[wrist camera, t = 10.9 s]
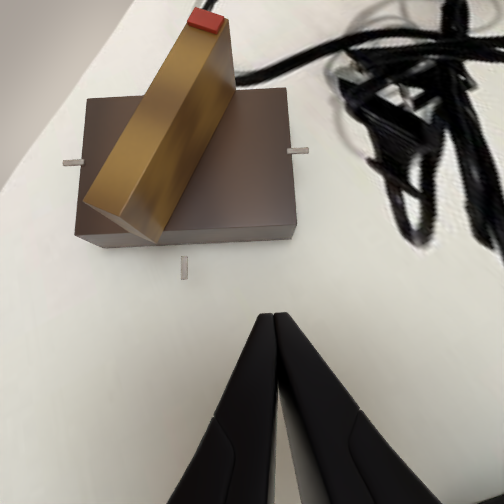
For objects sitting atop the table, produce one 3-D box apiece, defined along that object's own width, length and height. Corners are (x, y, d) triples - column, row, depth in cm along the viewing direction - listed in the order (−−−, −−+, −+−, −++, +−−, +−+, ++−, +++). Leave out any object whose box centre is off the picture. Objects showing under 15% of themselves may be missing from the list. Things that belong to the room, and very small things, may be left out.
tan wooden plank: (156, 244, 18) (116, 215, 13) (128, 231, 19) (78, 198, 13) (236, 89, 21) (228, 14, 15) (210, 80, 21) (194, 3, 16)
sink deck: (84, 290, 21) (49, 285, 18) (100, 97, 25) (73, 60, 21) (310, 280, 21) (320, 272, 18) (293, 86, 25) (299, 47, 21)
